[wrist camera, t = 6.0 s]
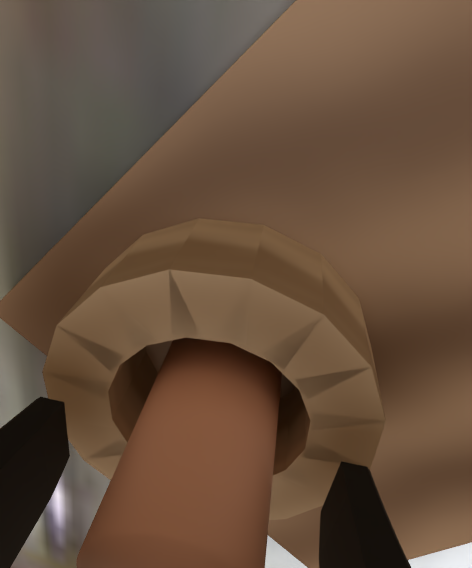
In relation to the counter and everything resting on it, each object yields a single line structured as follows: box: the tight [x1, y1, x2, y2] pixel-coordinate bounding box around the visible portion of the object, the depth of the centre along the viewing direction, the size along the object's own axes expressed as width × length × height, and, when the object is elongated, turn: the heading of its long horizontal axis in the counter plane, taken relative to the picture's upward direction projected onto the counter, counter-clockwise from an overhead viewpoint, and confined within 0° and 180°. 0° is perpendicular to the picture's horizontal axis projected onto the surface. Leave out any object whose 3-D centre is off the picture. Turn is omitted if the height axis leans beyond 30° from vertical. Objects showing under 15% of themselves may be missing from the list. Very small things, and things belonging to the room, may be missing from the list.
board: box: [0, 0, 472, 568], centre depth 14 cm, size 19×17×1 cm
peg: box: [77, 337, 282, 568], centre depth 11 cm, size 4×4×7 cm
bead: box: [42, 218, 386, 520], centre depth 13 cm, size 9×9×3 cm
